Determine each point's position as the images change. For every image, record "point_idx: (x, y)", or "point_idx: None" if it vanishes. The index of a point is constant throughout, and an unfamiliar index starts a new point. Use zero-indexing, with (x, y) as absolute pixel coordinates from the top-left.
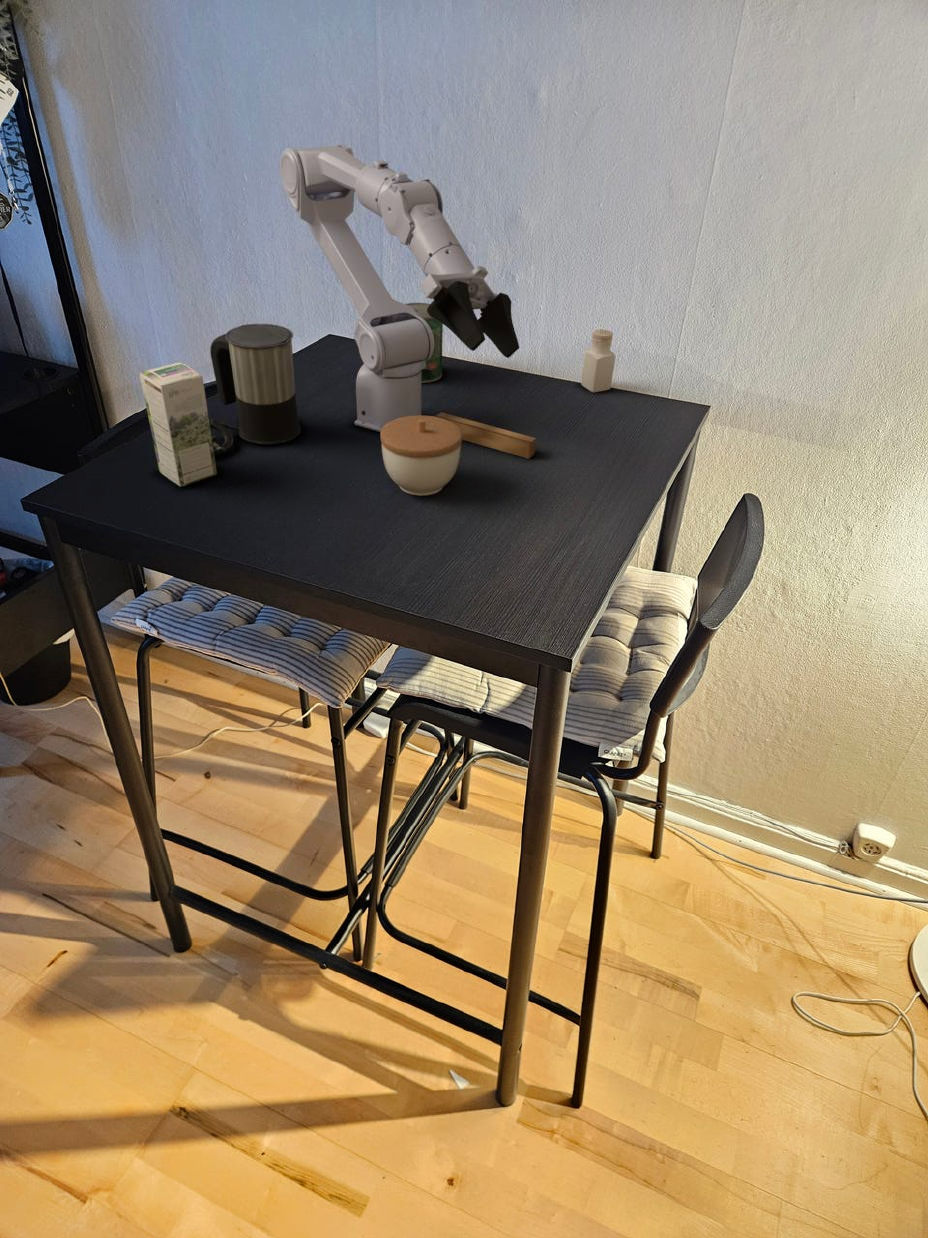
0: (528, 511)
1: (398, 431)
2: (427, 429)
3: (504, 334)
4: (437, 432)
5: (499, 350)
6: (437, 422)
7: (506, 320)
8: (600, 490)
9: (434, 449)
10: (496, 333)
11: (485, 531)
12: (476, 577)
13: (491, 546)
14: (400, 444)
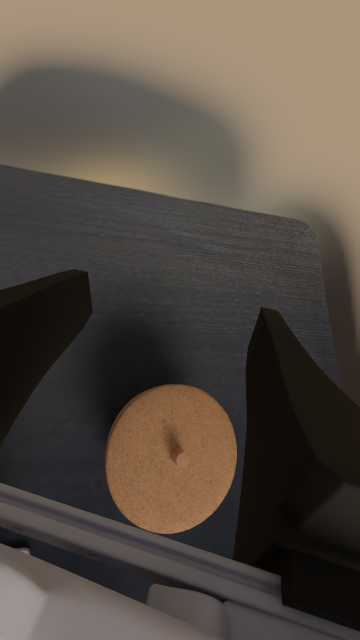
0: (154, 294)
1: (197, 489)
2: (167, 448)
3: (49, 318)
4: (169, 427)
5: (77, 334)
6: (133, 448)
7: (13, 308)
8: (69, 230)
9: (217, 403)
10: (36, 353)
11: (211, 323)
12: (275, 305)
13: (231, 308)
14: (230, 458)
